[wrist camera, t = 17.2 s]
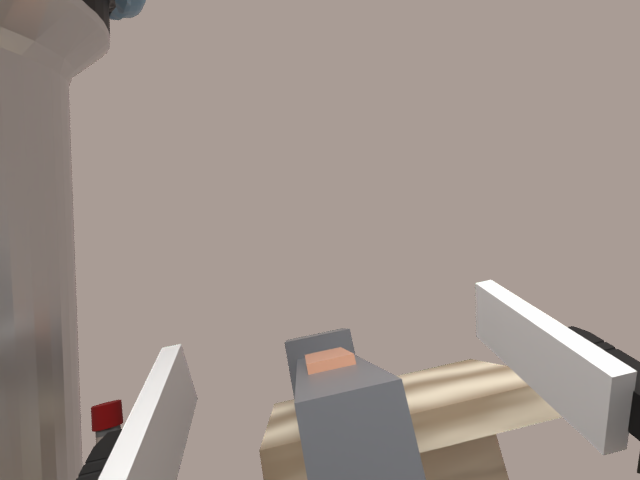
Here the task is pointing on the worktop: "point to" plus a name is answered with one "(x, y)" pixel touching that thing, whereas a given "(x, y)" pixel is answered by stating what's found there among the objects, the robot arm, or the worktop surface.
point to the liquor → (106, 418)
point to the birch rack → (435, 422)
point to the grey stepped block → (350, 413)
